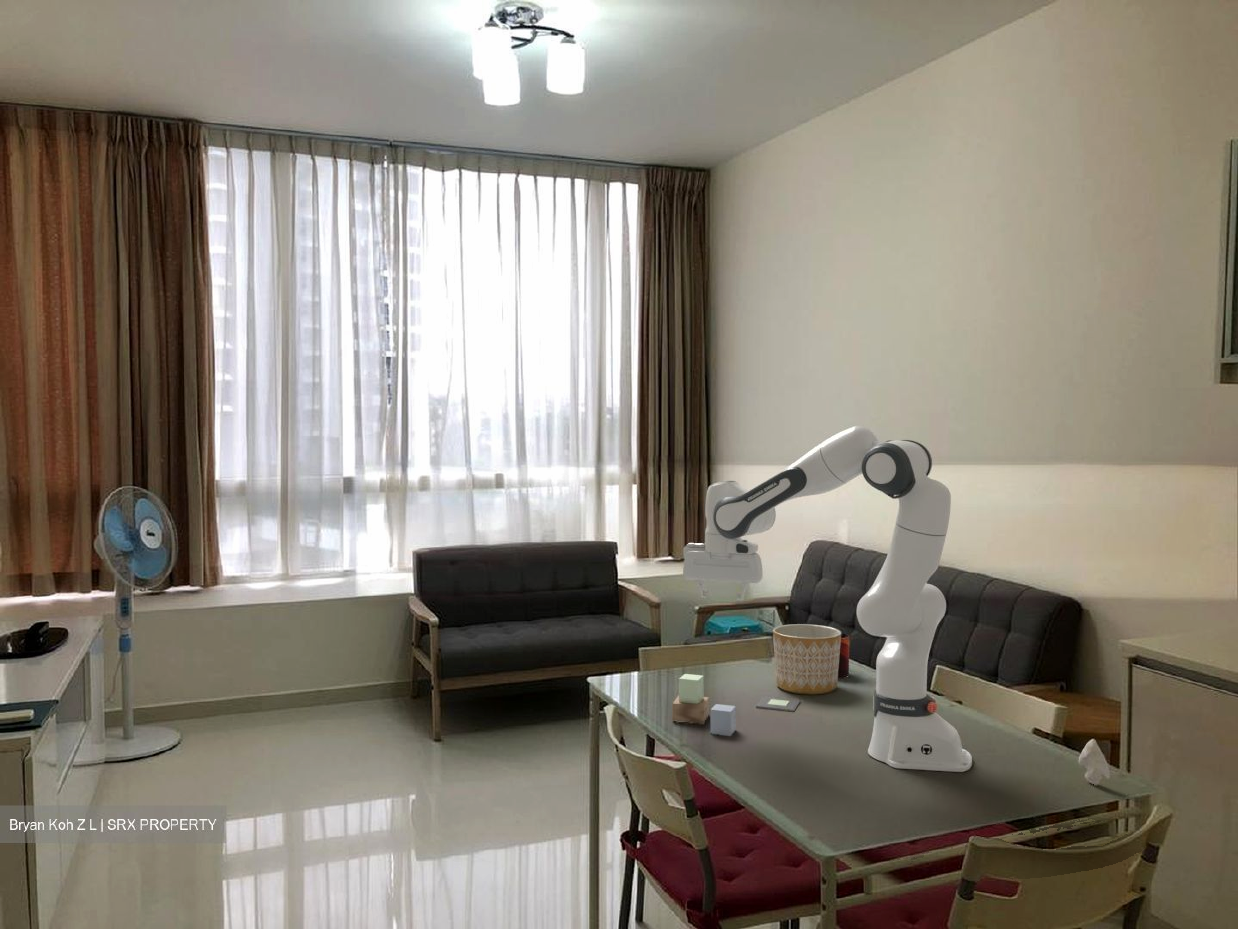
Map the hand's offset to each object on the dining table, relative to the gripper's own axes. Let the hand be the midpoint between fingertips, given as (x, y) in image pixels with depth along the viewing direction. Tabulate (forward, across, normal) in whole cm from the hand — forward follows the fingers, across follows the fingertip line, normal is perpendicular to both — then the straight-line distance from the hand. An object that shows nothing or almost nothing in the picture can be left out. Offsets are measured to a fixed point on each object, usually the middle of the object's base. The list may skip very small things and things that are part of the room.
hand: (722, 598), depth 245 cm
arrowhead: (+31, +84, -16) cm, 91 cm away
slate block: (+31, +3, -10) cm, 33 cm away
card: (+31, +11, +18) cm, 37 cm away
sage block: (+26, -7, -2) cm, 27 cm away
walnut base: (+31, -8, -2) cm, 32 cm away
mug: (+31, +19, +58) cm, 68 cm away
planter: (+31, +15, +38) cm, 51 cm away
